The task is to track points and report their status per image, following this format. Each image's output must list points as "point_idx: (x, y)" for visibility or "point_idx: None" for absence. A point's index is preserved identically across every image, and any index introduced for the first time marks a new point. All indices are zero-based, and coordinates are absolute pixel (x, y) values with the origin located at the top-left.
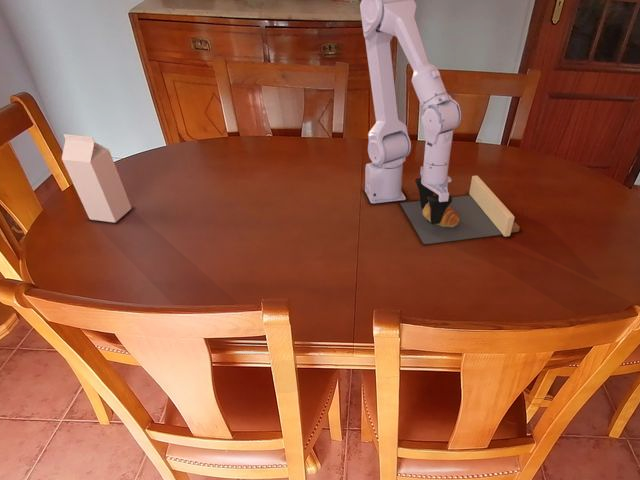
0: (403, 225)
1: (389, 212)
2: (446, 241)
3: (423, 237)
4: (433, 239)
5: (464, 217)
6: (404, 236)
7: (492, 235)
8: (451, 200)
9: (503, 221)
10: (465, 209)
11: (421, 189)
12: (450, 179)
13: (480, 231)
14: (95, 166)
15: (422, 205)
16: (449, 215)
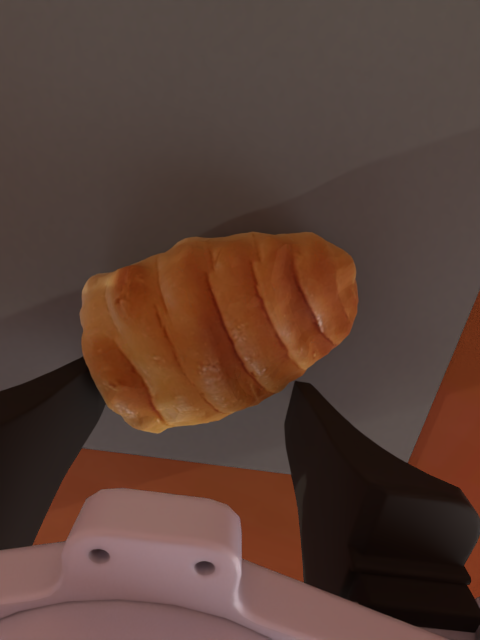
0: (202, 496)
1: (62, 505)
2: (436, 389)
3: None
4: (387, 437)
5: (255, 141)
6: (293, 525)
7: None
8: (477, 516)
9: None
10: (144, 57)
11: (33, 525)
12: (224, 565)
13: (474, 135)
14: None
15: (100, 413)
16: (305, 327)
